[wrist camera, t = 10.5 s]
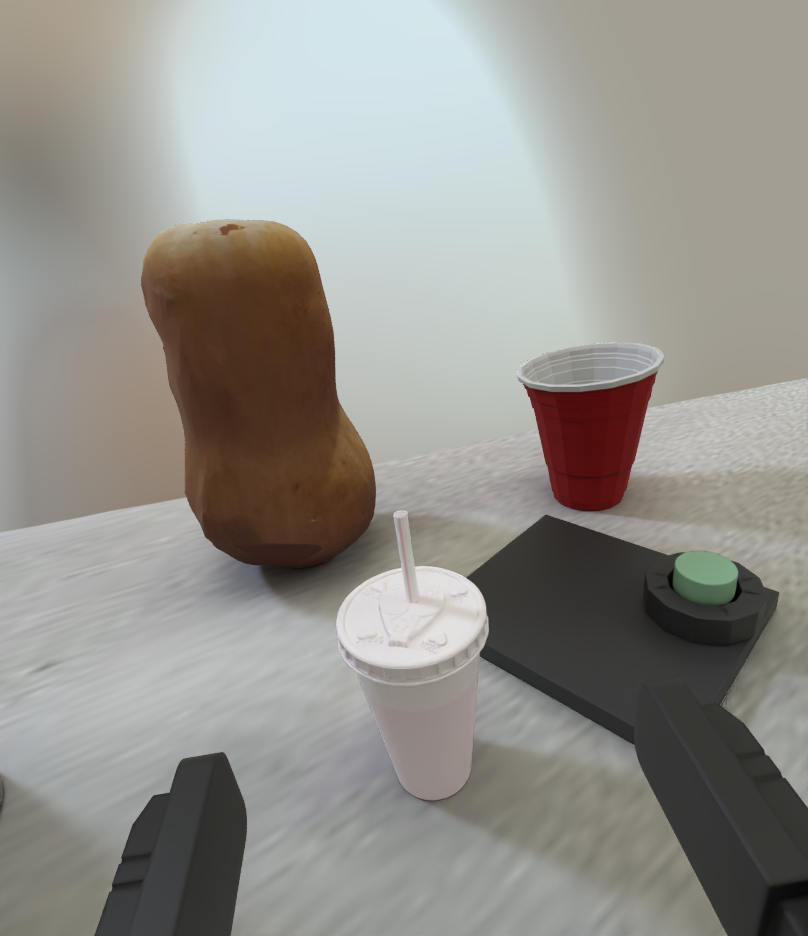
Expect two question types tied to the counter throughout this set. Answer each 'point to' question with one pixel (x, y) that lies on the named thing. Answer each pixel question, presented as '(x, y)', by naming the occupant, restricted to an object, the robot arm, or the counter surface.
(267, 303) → the butternut squash
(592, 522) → the counter surface
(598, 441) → the plastic cup
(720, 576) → the button
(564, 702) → the scale
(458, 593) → the smoothie
